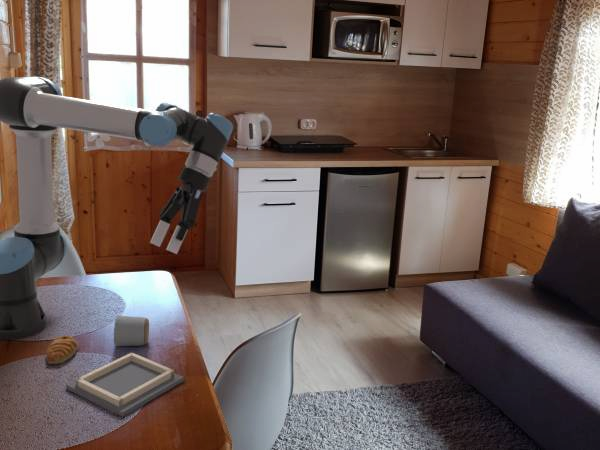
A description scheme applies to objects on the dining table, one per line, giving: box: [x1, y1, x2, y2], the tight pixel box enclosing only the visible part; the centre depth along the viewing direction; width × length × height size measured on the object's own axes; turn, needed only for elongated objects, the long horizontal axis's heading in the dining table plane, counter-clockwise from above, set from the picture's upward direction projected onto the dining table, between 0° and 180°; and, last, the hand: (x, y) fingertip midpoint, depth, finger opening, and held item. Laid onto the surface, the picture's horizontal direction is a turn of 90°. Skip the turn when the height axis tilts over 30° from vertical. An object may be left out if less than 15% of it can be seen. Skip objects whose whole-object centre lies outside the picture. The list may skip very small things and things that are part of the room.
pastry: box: [45, 335, 79, 365], centre depth 146 cm, size 9×7×4 cm
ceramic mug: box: [113, 315, 150, 347], centre depth 155 cm, size 11×8×8 cm
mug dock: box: [65, 352, 185, 418], centre depth 135 cm, size 18×18×2 cm
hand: (162, 248), depth 151 cm, fingers open, 13 cm apart
